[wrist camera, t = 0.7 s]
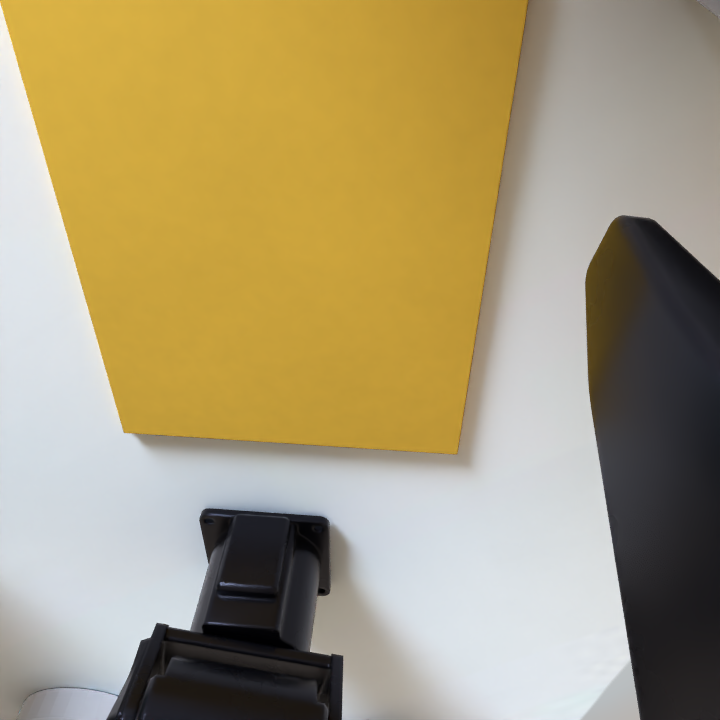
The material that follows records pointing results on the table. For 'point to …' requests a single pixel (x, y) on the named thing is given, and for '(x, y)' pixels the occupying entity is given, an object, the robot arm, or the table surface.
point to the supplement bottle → (711, 6)
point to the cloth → (278, 204)
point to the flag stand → (67, 705)
